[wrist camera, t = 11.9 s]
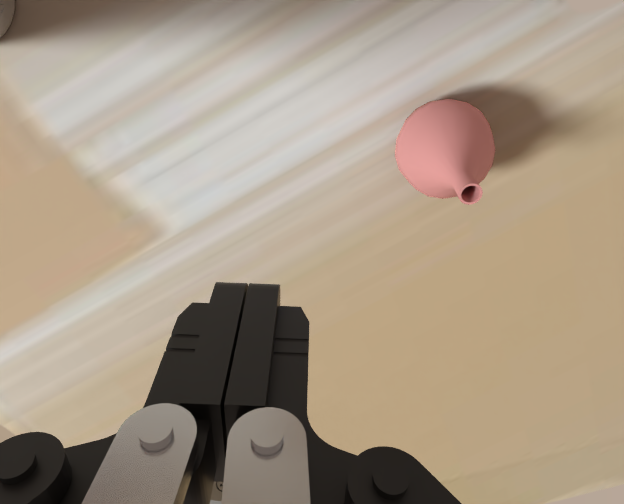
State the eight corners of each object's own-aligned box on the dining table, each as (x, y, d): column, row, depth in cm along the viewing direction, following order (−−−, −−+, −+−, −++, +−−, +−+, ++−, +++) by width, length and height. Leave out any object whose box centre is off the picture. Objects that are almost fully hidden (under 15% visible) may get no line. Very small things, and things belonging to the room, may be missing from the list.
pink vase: (493, 97, 40) (551, 149, 30) (462, 180, 44) (504, 251, 34) (403, 80, 40) (431, 127, 30) (380, 166, 44) (398, 233, 34)
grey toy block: (209, 464, 69) (202, 498, 64) (244, 469, 69) (239, 503, 65) (206, 484, 71) (199, 518, 67) (239, 489, 72) (235, 523, 68)
